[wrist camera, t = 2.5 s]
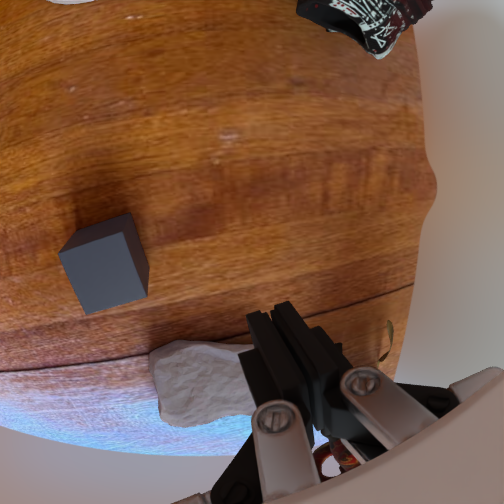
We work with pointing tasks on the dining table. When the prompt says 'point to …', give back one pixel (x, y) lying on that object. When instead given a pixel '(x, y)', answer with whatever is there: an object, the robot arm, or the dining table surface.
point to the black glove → (366, 19)
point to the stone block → (200, 382)
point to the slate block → (106, 264)
